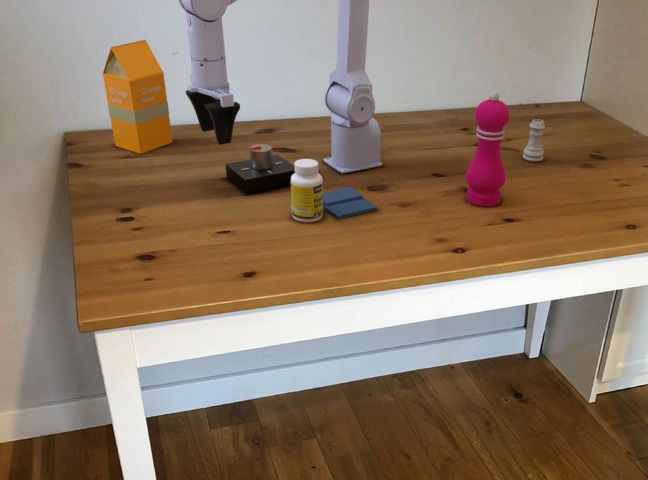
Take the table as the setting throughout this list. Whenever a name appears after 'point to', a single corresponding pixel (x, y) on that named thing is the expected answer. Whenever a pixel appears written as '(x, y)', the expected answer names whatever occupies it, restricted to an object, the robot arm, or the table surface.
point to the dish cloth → (346, 203)
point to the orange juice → (137, 98)
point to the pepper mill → (488, 153)
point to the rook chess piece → (534, 143)
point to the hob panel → (260, 175)
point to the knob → (261, 157)
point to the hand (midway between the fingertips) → (216, 136)
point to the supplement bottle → (306, 191)
